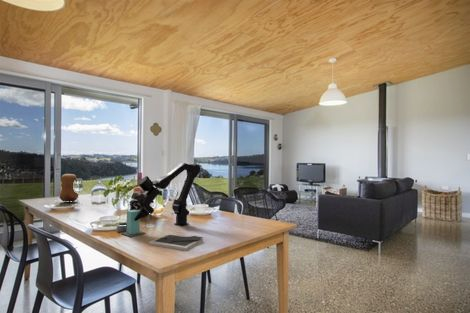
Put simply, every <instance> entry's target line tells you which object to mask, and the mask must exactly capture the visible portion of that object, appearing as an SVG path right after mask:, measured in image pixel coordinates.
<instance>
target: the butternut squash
mask: <svg viewBox="0 0 470 313" xmlns="http://www.w3.org/2000/svg"><path fill="white" fill-rule="evenodd" d="M76 179H77V176H76V174H73V173H65V174H63V175H62V176H61V180H60V181H61V183H60V187H61V189H60V193H59V199H60V200H61V202H64V201H74V202H75V201H77V200H78V199H79V193H78V194H77V193H75V192H74V190H73V182H74V180H76Z"/></svg>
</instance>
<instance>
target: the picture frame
mask: <svg viewBox="0 0 470 313" xmlns="http://www.w3.org/2000/svg"><path fill="white" fill-rule="evenodd" d="M203 241H204V238H203V236H197V235H191V236H189V235H188V236H186V235H180V234H175V233H167V234H164V235H162V236H160V237H157V238H154V239H152V240H150V241H148V245H150V246H156V247H162V248H168V249H173V250H179V251H183V252H187V251H188V250H190V249H191V248H193V247H196V246H197V245H199V244H200V243H202V242H203Z"/></svg>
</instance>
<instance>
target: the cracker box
mask: <svg viewBox="0 0 470 313" xmlns="http://www.w3.org/2000/svg"><path fill="white" fill-rule="evenodd" d="M147 192H148V191H144V190H143V189H142V188H141V187H140V186H139V185H138V186H135V187H133V191H132V194H133V193H137V194H139V193H142V194H144V195H145V194H146V193H147ZM132 200H136V199H132ZM136 201H137V200H136ZM138 203H139V202H138ZM139 211H140V209H139Z"/></svg>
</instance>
